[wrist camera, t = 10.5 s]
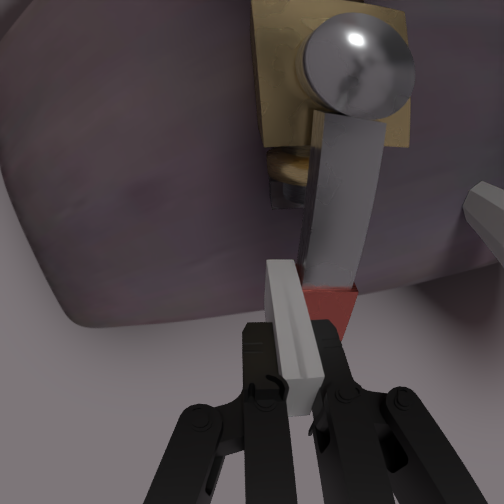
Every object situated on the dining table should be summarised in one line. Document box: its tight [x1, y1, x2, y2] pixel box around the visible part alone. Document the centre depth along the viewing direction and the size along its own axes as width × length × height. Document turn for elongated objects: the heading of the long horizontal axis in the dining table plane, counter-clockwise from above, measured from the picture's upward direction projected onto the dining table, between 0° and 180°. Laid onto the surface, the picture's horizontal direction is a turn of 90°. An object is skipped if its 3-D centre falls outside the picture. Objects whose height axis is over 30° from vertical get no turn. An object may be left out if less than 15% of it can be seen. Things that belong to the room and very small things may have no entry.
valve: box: [250, 0, 410, 210], centre depth 13 cm, size 18×7×8 cm, turn 4°
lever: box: [295, 12, 415, 341], centre depth 12 cm, size 16×4×3 cm, turn 178°
